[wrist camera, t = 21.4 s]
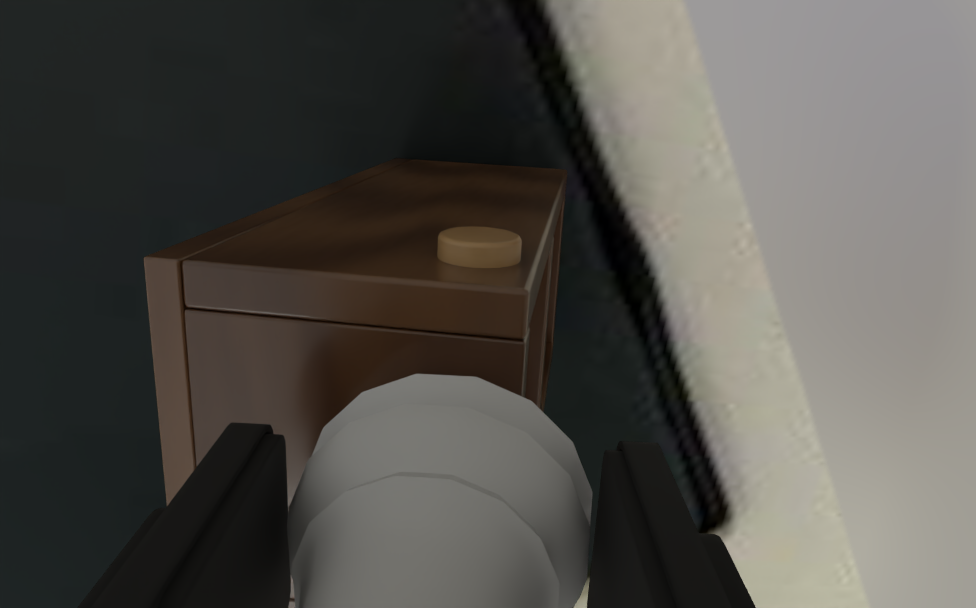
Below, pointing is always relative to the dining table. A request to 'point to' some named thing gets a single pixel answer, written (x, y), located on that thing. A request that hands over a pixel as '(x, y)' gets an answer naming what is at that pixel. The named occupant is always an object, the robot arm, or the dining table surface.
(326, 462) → the rook chess piece
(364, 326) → the brown wooden shelf box
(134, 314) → the dining table surface
